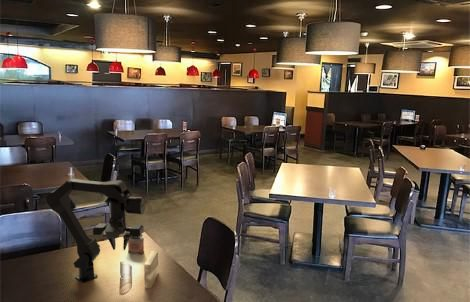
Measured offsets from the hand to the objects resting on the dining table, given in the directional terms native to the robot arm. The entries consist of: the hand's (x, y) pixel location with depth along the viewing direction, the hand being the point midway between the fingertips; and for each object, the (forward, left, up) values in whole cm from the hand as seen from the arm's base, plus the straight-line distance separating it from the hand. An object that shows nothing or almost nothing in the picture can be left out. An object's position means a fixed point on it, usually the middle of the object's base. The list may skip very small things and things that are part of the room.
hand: (119, 249), depth 148 cm
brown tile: (+10, +8, -13) cm, 18 cm away
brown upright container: (-15, +19, -13) cm, 28 cm away
